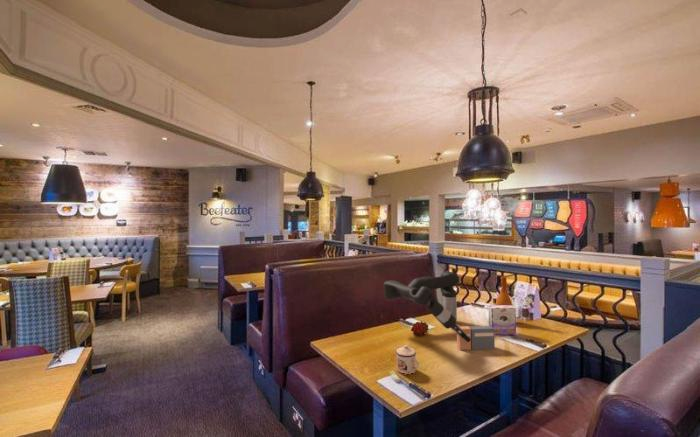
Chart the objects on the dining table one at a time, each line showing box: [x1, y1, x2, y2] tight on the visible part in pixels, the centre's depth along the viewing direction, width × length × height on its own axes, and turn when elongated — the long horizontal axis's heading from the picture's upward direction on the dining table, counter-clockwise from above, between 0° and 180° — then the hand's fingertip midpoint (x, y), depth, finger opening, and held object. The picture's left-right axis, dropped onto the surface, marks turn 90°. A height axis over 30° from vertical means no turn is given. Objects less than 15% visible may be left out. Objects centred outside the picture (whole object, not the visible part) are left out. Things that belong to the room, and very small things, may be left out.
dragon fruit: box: [410, 320, 429, 337], centre depth 194 cm, size 8×8×12 cm
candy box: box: [488, 304, 517, 336], centre depth 192 cm, size 14×6×16 cm, turn 84°
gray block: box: [468, 325, 496, 351], centre depth 173 cm, size 12×4×11 cm, turn 91°
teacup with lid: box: [395, 344, 420, 375], centre depth 150 cm, size 12×9×12 cm
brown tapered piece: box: [495, 276, 513, 306], centre depth 211 cm, size 10×10×30 cm
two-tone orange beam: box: [456, 325, 472, 351], centre depth 173 cm, size 6×4×11 cm
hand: (467, 339), depth 173 cm, fingers closed on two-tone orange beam, 4 cm apart
